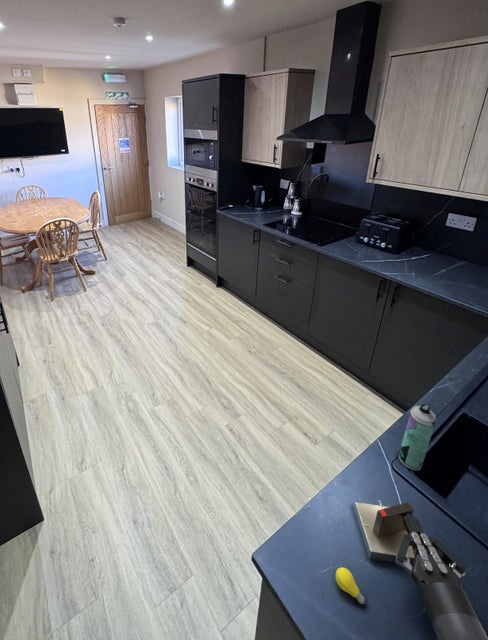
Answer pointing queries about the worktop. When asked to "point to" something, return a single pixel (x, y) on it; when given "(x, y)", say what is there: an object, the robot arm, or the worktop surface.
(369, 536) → the panel
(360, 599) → the light bulb
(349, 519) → the worktop surface
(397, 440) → the worktop surface
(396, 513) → the brown rectangular block
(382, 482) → the worktop surface
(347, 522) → the worktop surface
